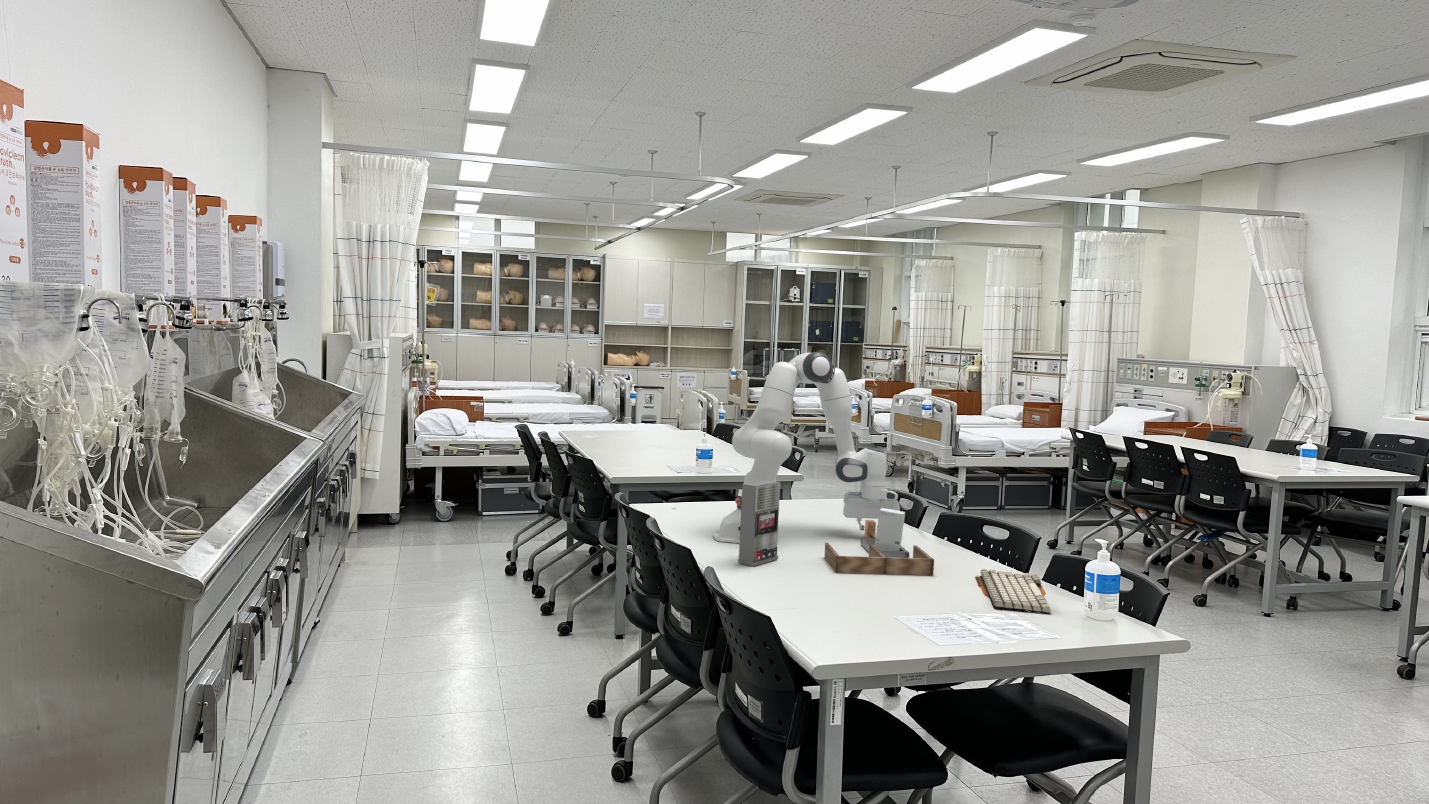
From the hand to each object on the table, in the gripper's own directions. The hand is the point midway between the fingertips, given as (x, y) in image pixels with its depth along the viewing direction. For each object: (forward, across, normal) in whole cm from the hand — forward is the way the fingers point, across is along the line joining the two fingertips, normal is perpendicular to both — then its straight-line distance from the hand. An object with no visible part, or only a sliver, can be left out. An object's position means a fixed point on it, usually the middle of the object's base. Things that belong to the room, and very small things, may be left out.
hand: (870, 530), depth 324 cm
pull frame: (+3, 0, -14) cm, 14 cm away
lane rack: (+3, -7, -41) cm, 41 cm away
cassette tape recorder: (+3, -45, -39) cm, 60 cm away
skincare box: (+3, 0, -24) cm, 24 cm away
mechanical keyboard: (+4, +26, -68) cm, 73 cm away
